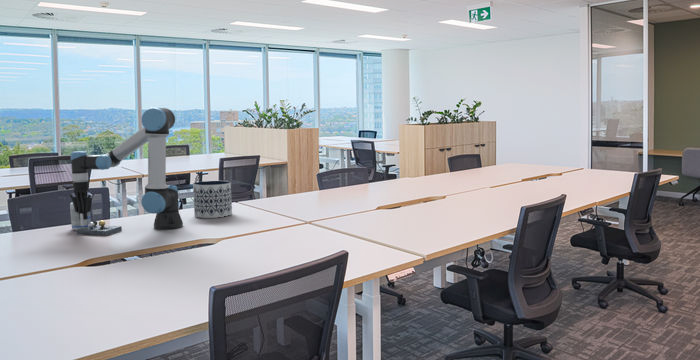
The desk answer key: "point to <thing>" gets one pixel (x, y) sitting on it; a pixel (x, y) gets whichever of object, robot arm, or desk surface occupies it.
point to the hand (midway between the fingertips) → (83, 225)
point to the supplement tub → (77, 218)
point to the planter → (212, 199)
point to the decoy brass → (101, 223)
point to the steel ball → (91, 225)
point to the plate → (99, 230)
